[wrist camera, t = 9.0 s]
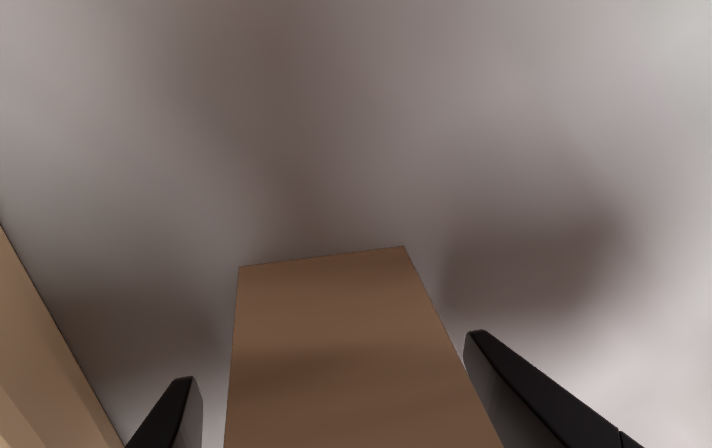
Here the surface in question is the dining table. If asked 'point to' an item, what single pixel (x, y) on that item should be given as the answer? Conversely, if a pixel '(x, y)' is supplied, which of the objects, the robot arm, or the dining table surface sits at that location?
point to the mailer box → (41, 373)
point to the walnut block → (346, 360)
